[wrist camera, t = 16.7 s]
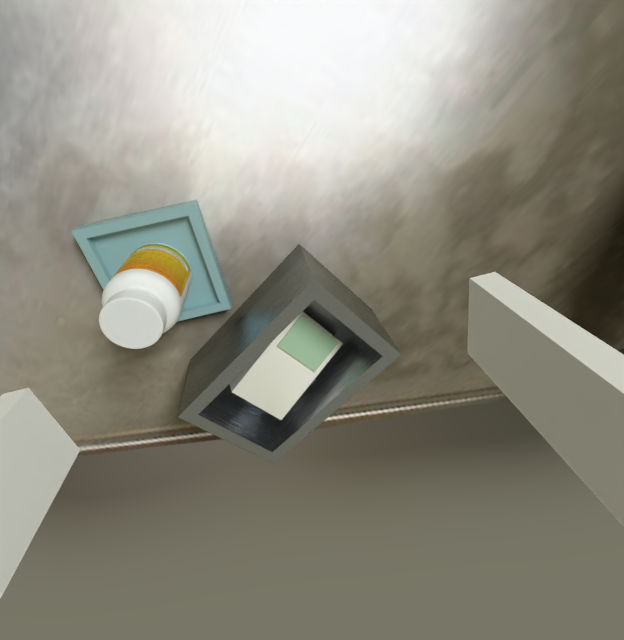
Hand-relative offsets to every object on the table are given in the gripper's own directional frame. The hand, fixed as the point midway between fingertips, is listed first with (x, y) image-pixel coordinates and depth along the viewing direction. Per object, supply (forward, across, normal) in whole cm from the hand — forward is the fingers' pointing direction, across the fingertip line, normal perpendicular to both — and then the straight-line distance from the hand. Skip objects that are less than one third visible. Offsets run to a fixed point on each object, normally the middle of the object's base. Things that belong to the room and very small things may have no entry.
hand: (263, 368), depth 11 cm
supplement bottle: (+23, +10, +3) cm, 25 cm away
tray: (+23, +10, +3) cm, 26 cm away
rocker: (+18, +1, +14) cm, 23 cm away
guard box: (+24, +1, +14) cm, 27 cm away
